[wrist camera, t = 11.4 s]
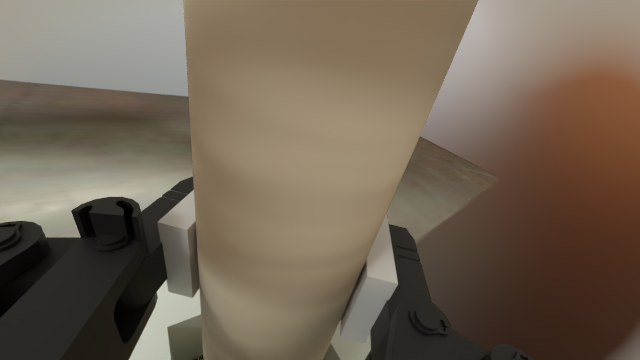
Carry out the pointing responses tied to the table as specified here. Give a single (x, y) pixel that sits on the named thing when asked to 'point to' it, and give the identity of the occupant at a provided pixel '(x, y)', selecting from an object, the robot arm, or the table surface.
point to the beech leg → (301, 154)
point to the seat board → (186, 333)
